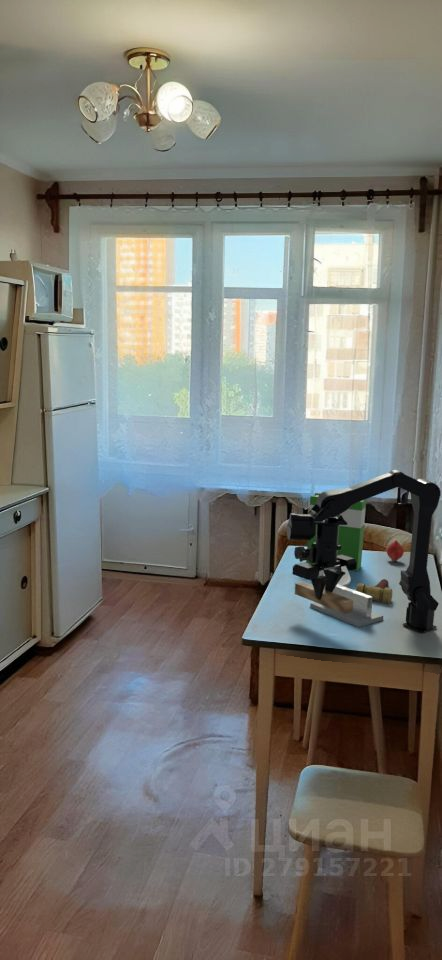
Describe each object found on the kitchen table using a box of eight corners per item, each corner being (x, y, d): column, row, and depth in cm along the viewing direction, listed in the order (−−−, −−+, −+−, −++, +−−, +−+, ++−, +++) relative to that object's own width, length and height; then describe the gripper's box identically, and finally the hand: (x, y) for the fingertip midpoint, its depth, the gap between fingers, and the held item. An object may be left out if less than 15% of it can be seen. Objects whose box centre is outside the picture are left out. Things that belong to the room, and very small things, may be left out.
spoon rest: (347, 598, 212) (348, 575, 211) (308, 592, 216) (309, 569, 215) (356, 576, 235) (358, 555, 234) (321, 571, 238) (323, 551, 237)
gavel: (371, 571, 230) (402, 576, 226) (370, 585, 230) (401, 590, 226) (356, 584, 211) (390, 590, 207) (354, 599, 211) (388, 605, 207)
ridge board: (383, 619, 195) (383, 615, 194) (358, 627, 188) (359, 622, 188) (334, 600, 208) (334, 597, 208) (310, 607, 202) (310, 603, 202)
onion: (382, 559, 256) (384, 537, 254) (397, 558, 257) (398, 537, 256) (391, 564, 250) (393, 542, 249) (405, 563, 252) (407, 541, 251)
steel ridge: (371, 617, 193) (372, 596, 192) (366, 618, 191) (367, 598, 191) (327, 600, 205) (328, 581, 204) (322, 601, 204) (324, 582, 203)
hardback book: (306, 564, 245) (310, 496, 241) (311, 559, 252) (315, 492, 248) (356, 571, 239) (362, 501, 235) (361, 566, 246) (366, 498, 242)
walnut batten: (352, 611, 181) (353, 600, 180) (344, 613, 179) (345, 602, 179) (302, 592, 195) (303, 581, 194) (294, 594, 193) (295, 583, 192)
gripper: (328, 529, 196) (324, 584, 199) (279, 538, 185) (275, 595, 187) (359, 538, 188) (355, 595, 190) (310, 547, 176) (306, 608, 179)
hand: (322, 598), depth 187 cm, fingers closed on walnut batten, 3 cm apart
